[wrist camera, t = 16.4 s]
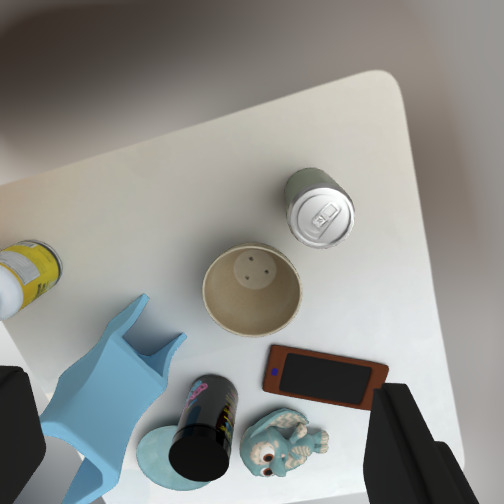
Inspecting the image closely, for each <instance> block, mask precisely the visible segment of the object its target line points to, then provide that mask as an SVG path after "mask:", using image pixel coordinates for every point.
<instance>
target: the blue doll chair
mask: <svg viewBox="0 0 504 504" xmlns="http://www.w3.org/2000/svg"><path fill="white" fill-rule="evenodd" d="M148 299H149V298H148V297H147V296H146V295H145V294H143V295H141V296H140V297H139V298H138V299H137V300H135V301H134V302H133V303H132V304H130V305H129V306H128V307H127V308H126V309H124V310H123V311H122V312H121V313H119V314H118V315H117V316H116V317H115V318H113V319H112V320H111V321H110V322H109V323H108V325H107V327H106V330H105V332H104V334H103V336H102V337H101V339H100V340H99V342H98V343H97V344H96V346H95V347H94V348H93V349H92V350H91V351H89V352H88V353H87V354H86V355H85V356H83V357H82V358H81V359H80V360H78V361H77V362H76V363H74V364H73V365H72V366H71V367H69V368H68V369H67V370H66V371H64V373H63V374H62V375H61V376H60V377H59V380H58V384H57V387H56V390H55V392H54V395H53V397H52V399H51V401H50V403H49V404H48V406H47V407H46V409H45V410H44V412H43V413H42V414H41V415H40V416H39V420H40V424H41V428H42V431H43V435H47V436H52V437H56V438H59V439H62V440H64V441H66V442H67V443H69V444H70V445H72V446H73V447H74V448H75V449H76V450H78V451H79V452H80V453H81V454H83V455H84V456H85V458H84V460H83V462H82V464H81V466H80V468H79V470H78V472H77V474H76V476H75V477H74V479H73V481H72V483H71V485H70V487H69V490H68V491H67V493H66V495H65V498H64V500H63V502H62V504H89V503H91V502H92V501H94V500H95V499H97V498H99V497H100V496H102V495H103V494H105V493H106V492H108V491H109V490H111V489H112V488H113V487H115V486H116V484H117V483H118V481H119V478H120V473H121V468H122V463H123V459H124V455H125V451H126V447H127V444H128V441H129V438H130V436H131V433H132V431H133V429H134V427H135V425H136V423H137V422H138V420H139V419H140V417H141V416H142V414H143V413H144V412H145V411H146V409H147V408H148V407H149V406H150V405H151V404H152V403H153V402H154V400H155V399H156V398H158V397H159V396H160V395H161V394H162V393H163V392H164V391H165V389H166V387H167V385H168V373H169V366H170V362H171V359H172V356H173V355H174V353H175V351H176V350H177V348H178V347H179V346H180V345H181V343H182V342H183V341H184V340H185V339H186V338H187V336H186V335H185V334H184V333H182V334H181V335H179V336H178V337H177V338H175V339H174V340H173V341H171V342H170V343H169V344H167V345H166V346H165V347H163V348H162V349H161V350H159V351H158V352H157V353H155V354H154V355H152V356H145V355H141V354H140V353H138V352H137V351H136V350H135V349H134V348H133V347H131V346H130V345H129V344H128V343H127V342H126V341H125V340H124V339H123V337H122V336H123V335H124V334H125V333H126V332H127V331H128V330H129V328H130V327H131V326H132V325H133V324H134V322H135V321H136V320H137V318H138V317H139V315H140V313H141V312H142V310H143V308H144V307H145V305H146V303H147V301H148Z"/></svg>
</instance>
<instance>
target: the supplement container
mask: <svg viewBox="0 0 504 504" xmlns="http://www.w3.org/2000/svg"><path fill="white" fill-rule="evenodd" d="M237 403H238V394H237V391H236V389H235V387H234V385H233V384H232V383H231V382H230V381H228V380H227V379H225V378H223V377H221V376H216V375H208V376H204V377H201V378H199V379H198V380H196V381H195V382H194V383H193V384H192V386H191V387H190V390H189V393H188V396H187V399H186V402H185V405H184V408H183V411H182V414H181V417H180V420H179V423H178V426H177V429H176V432H175V435H174V437H173V440H172V444H171V447H170V450H169V454H168V458H169V462H170V465H171V467H172V468H173V469H174V470H175V472H177V473H178V474H179V475H180V476H182V477H184V478H186V479H188V480H191V481H195V482H209V481H213V480H216V479H218V478H220V477H221V476H223V475H224V474H225V472H226V471H227V469H228V467H229V461H230V455H231V445H232V438H233V431H234V424H235V417H236V410H237Z"/></svg>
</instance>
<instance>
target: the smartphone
mask: <svg viewBox="0 0 504 504" xmlns="http://www.w3.org/2000/svg"><path fill="white" fill-rule="evenodd" d="M388 372H389V367H388V366H387V365H383V364H379V363H374V362H369V361H363V360H358V359H352V358H347V357H341V356H336V355H330V354H325V353H319V352H313V351H308V350H302V349H297V348H291V347H285V346H278V345H273V346H272V347H271V350H270V354H269V359H268V364H267V368H266V373H265V378H264V382H263V388H262V389H263V391H265V392H269V393H273V394H278V395H284V396H289V397H295V398H300V399H306V400H311V401H317V402H322V403H328V404H333V405H339V406H344V407H350V408H355V409H361V410H369V411H371V406H372V399H373V392H374V389H375V388H381V385H382V383H385V380H386V377H387V375H388Z"/></svg>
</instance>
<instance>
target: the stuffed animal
mask: <svg viewBox="0 0 504 504" xmlns="http://www.w3.org/2000/svg"><path fill="white" fill-rule="evenodd" d="M308 423H309V421H308V420H307V418H306V417H305V416H303V415H302V414H300V413H298V412H297V411H294V410H290V409H286V408H282V409H280V410H277V411H274V412H272V413H270V414H269V415H267V416H265V417H263V418H262V419H260V420H259V421H258V422H257V423H256V424H255V425H254V426H252V427H249V428H248V429H247V430H246V432H245V433H244V434H243V437H242V439H241V441H240V449H239V450H240V456H241V458H242V461H243V463H244V464H245V466H246V467H247V468H248V469H249V470H250V472H251V473H252V474H253V475H255V476H262V477H270V476H273V475H277V476H279V477H285V476H286V472H287V471H290V470H293V469H295V468H297V467H298V466H300V465H302V464H304V462H305V461H306V460H307V456H310V455H311V454H312V452H316V453H326V452H327V450H328V444H327V443H328V440H329V436H328V434H327V432H326V431H319V432H317V433H315V434H314V435H309V434H307V428H306V426H305V424H308ZM295 426H297V427H296V429H295V431H294V432H293V434H292V436H291V437H290V438H289V439H284V438H283V436H282V435H281V434H280V432H279V431H278V430H277V428H276V427H279V428H282V429H285V428H290V427H295Z"/></svg>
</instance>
